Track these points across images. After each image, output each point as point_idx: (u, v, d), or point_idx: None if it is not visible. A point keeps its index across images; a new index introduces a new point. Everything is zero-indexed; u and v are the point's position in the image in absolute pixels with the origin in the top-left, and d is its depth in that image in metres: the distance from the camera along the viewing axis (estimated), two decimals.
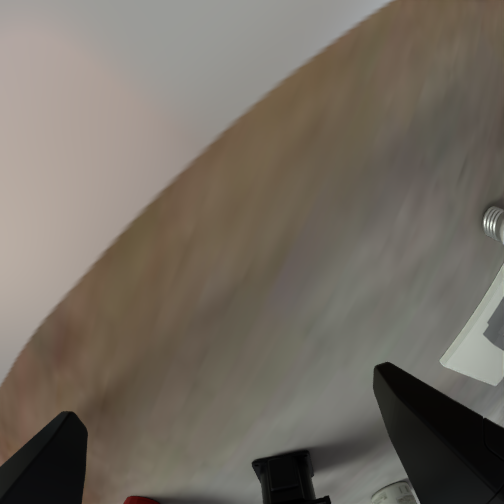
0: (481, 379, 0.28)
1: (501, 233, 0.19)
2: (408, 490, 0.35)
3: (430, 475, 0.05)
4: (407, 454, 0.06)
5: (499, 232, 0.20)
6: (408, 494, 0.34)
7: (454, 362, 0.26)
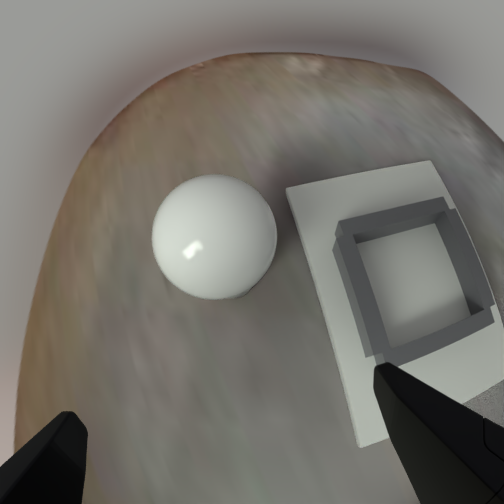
0: (469, 397, 0.17)
1: None
2: None
3: (430, 475, 0.05)
4: (407, 454, 0.06)
5: None
6: None
7: (375, 431, 0.17)
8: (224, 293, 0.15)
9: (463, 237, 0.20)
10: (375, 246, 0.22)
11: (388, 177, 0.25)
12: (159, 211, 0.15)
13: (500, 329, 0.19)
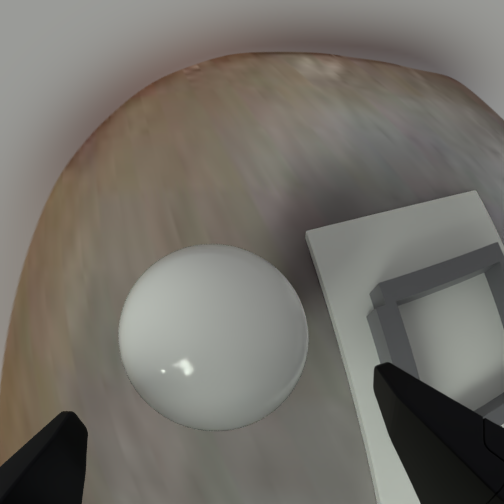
0: None
1: None
2: None
3: (430, 475, 0.05)
4: (407, 454, 0.06)
5: None
6: None
7: None
8: (230, 429, 0.09)
9: None
10: (418, 308, 0.17)
11: (431, 214, 0.19)
12: (125, 312, 0.09)
13: None
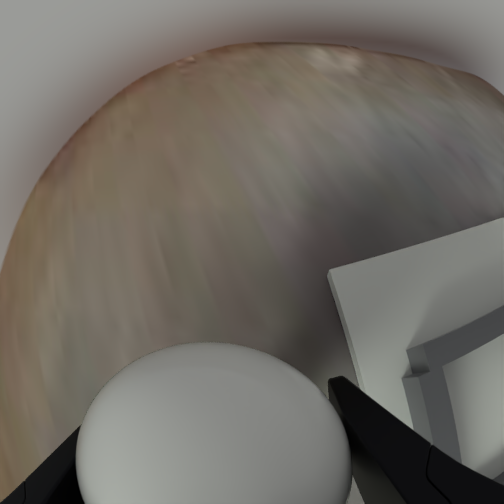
0: None
1: None
2: None
3: (375, 497, 0.05)
4: (357, 472, 0.06)
5: None
6: None
7: None
8: None
9: None
10: (460, 364, 0.12)
11: (475, 244, 0.15)
12: (78, 459, 0.04)
13: None
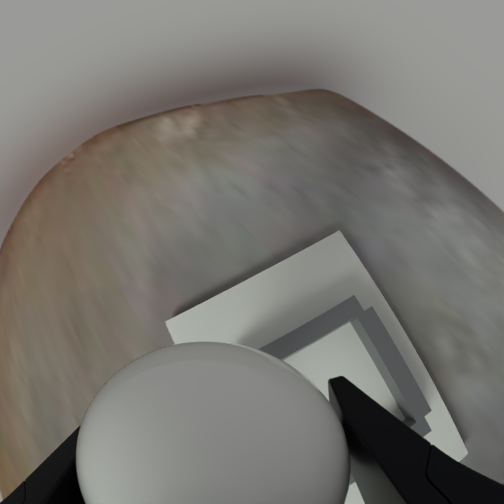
0: None
1: None
2: None
3: (375, 497, 0.05)
4: (357, 472, 0.06)
5: None
6: None
7: None
8: None
9: (384, 344, 0.18)
10: None
11: (284, 275, 0.22)
12: (78, 458, 0.04)
13: (446, 419, 0.17)
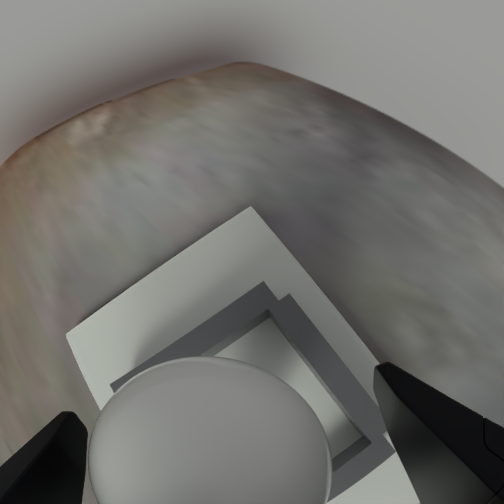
0: None
1: None
2: None
3: (430, 475, 0.05)
4: (407, 454, 0.06)
5: None
6: None
7: None
8: None
9: (311, 342, 0.14)
10: None
11: (185, 268, 0.18)
12: (91, 460, 0.05)
13: None
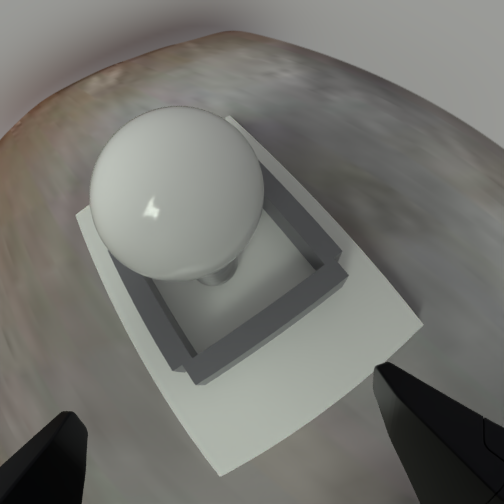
0: (356, 381, 0.15)
1: None
2: None
3: (430, 475, 0.05)
4: (407, 454, 0.06)
5: None
6: None
7: (229, 455, 0.14)
8: (183, 270, 0.10)
9: (269, 184, 0.18)
10: None
11: None
12: None
13: (377, 278, 0.17)
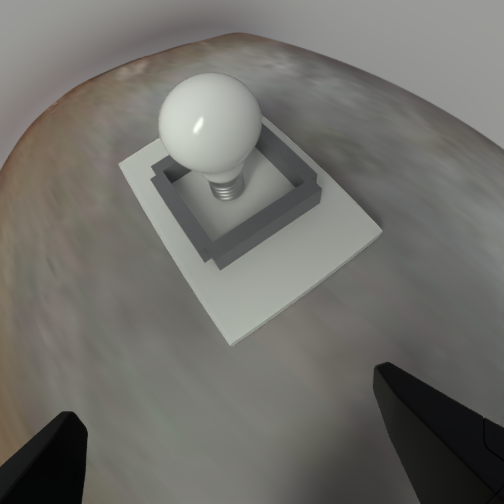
0: (332, 267, 0.22)
1: (207, 179, 0.22)
2: None
3: (430, 475, 0.05)
4: (407, 454, 0.06)
5: (213, 182, 0.23)
6: None
7: (237, 325, 0.21)
8: (216, 155, 0.17)
9: (267, 135, 0.25)
10: (193, 175, 0.27)
11: None
12: (166, 96, 0.17)
13: (345, 198, 0.24)
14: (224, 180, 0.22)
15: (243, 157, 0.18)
